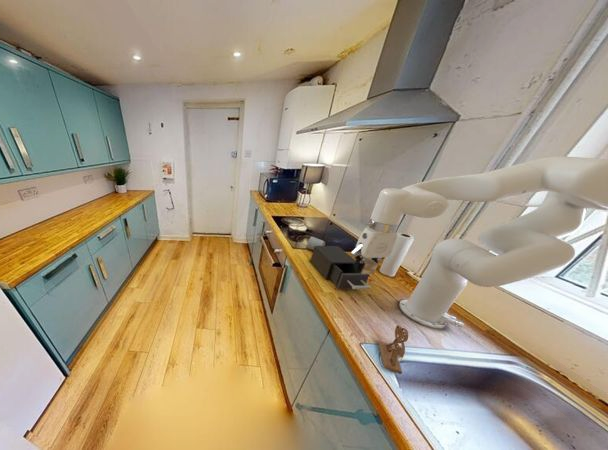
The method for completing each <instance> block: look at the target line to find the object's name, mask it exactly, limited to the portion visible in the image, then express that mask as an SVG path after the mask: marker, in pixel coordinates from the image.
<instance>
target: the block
mask: <svg viewBox="0 0 608 450" xmlns="http://www.w3.org/2000/svg"><path fill="white" fill-rule="evenodd" d="M362 257H363V256H361V258H362ZM378 265H379V263H376V262H375V261H373V260H372V258H371V259H370V258H366V260H365V261H364V267H363V269H362V271H361V273H362V274H369V275H374V274H375V272H376V270H377V267H378Z"/></svg>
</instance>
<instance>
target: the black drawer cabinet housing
mask: <svg viewBox="0 0 608 450" xmlns="http://www.w3.org/2000/svg"><path fill="white" fill-rule="evenodd" d="M309 262H310V263H311V264H312V265H313V266H314V267H315V269H316V270H317V271H318V272H319V273H320V274H321V276H322V277H323V278H324V279H325V280H331V279H330V277H329V273H330V270H331V267H332V265H333V264H355V262H356V259H355V258H354V257H353V256H351V254H348V253H347V252H346V251H345V250H344V249H343V248H341V247H340V246H339V245H325V246H314V250H312V254H311V257H310V261H309Z"/></svg>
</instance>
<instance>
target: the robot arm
mask: <svg viewBox="0 0 608 450" xmlns="http://www.w3.org/2000/svg"><path fill="white" fill-rule="evenodd" d="M540 192H547V193H546V195H545V197H544V199H543V201H542V202H541V204H540V205H539V206H538V207H536V208H535V209H534V210H532V211H529V212H527V213H525V214H523V215H520V216H518V217H515V218H512V219H510V220H507V221H505V222H501V223H499V224H496V225H494V226H492V227H489V228H487V229H485V230H483V231H482V232H481V233H479V234H478V236H477V241H478V243H479V245H481V246H482V247H481V246H479V245H478V244H476V243H473V242H471V241H469V240H466V239H461V238H447V239H444V240H441V241H440V242H438V243H437V244H436V245H435V246H434V248H433V250H432V253H431V256H430V261H429V263H428V265H427V267H426V269H425V272H424V273H423V274H422V276H421V278H420V279H419V281H418V282H417V284H416V286H415V288H414V290H413V291H412V293H411V294H410V296H409V298H408V299H403V300H400V302H399V304H398V306H399V309H400V310H401V311H402V312H403V314H405V315H406V316H407V317H408V318H410V319H411V320H413V321H415V322H416V323H419V324H421V325H423V326H425V327H429V328H433V329H443V328H445V327H446V326H447V325H448V324H450V325H453V326H454V327H457V328H458V329H463V328H464V326H465V323H464V322H462V321H459V320H457V319H458V318H457V317H456V316H454V315H450V314H448V313H447V312H448V311H449V310H450V308H451V307H452V306H453V305H454V303H455V301H456V300H457V299H458V298H459V296H460V295H461V293H462V292H463V291H464V289H465V288H466V287H467V285H468V282H469V283H471V284H473V285H475V286H478V287H483V288H495V287H502V286H505V285H510V284H513V283H516V282H520V281H524V280H527V279H531V278H534V277H538V276H541V275H542V276H543V275H545V274H549V273H552V272H555V271H559V270H560V269H563V268H564V267H566V266H567V265H568V264H570V263H571V262H572V261H573V260H574V259H575V257H576V254H577V251H576V249H575V247H574V246H573V245H572V244H571V243H570V242H567V240H564V239H562V238H564V237H568V236H570V235H572V234H574V233H576V232H577V231H579V230H580V229H581V228H582V226H583V223H584V220H585V216H586V212H587V210H588V209H591V210H595V211H601V212H605V213H608V159H607V158H595V157H579V156H567V155H566V156H565V155H558V156H557V155H556V156H545V157H541V158H536V159H531V160H529V161H525V162H521V163H517V164H513V165H510V166H505V167H502V168H498V169H493V170H490V171H485V172H481V173H474V174H473V173H472V174H465V175H463V174H462V175H457V176H448V177H441V178H434V179H429V180H425V181H421V182H417V183H413V184H410V185H407V186H404V187H402V188H394V187H393V188H392V187H388V188H387V187H386V188H384V189H381V191H380V192H379V194H378V197H377V200H376V202H375V204H374V207H373V210H372V213H371V214H370V218H369V220H368V222H367V223H366V226H365V228H364V229H363V230H362V232H361V234H360V236H359V238H358V240H357V242H356V245H355V246H354V247H355V248H354V249H353V250H352V251H351V252H350V255H352V257H353V258H354V259H355V260H356V262H355V264H354V269H356V270H357V271H358V272H361V271H362V269H363V267H364V261H365V260H366V258H370V259H372V260H373V261H375V262H376V263H378V264H380V263H381V262H382V260H384V259H385V257H389V256H390V254H391V252H392V250H393V247H394V245H395V242H396V238H397V233H398V231H397V230H398V228H399V226H400V224H401V221H402V220H403V217H404V215H408V216H413V217H418V218H423V219H432V218H437V217H440V216H442V215H444V214H445V213H447V211H448V210H449V207H450V203H449V201H450V200H451V201H463V202H473V203H475V202H476V203H490V202H491V203H493V202H498V201H502V200H507V199H512V198H516V197H521V196H526V195H530V194H535V193H540ZM448 200H449V201H448ZM483 247H484V248H483ZM361 257H362V258H361Z"/></svg>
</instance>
